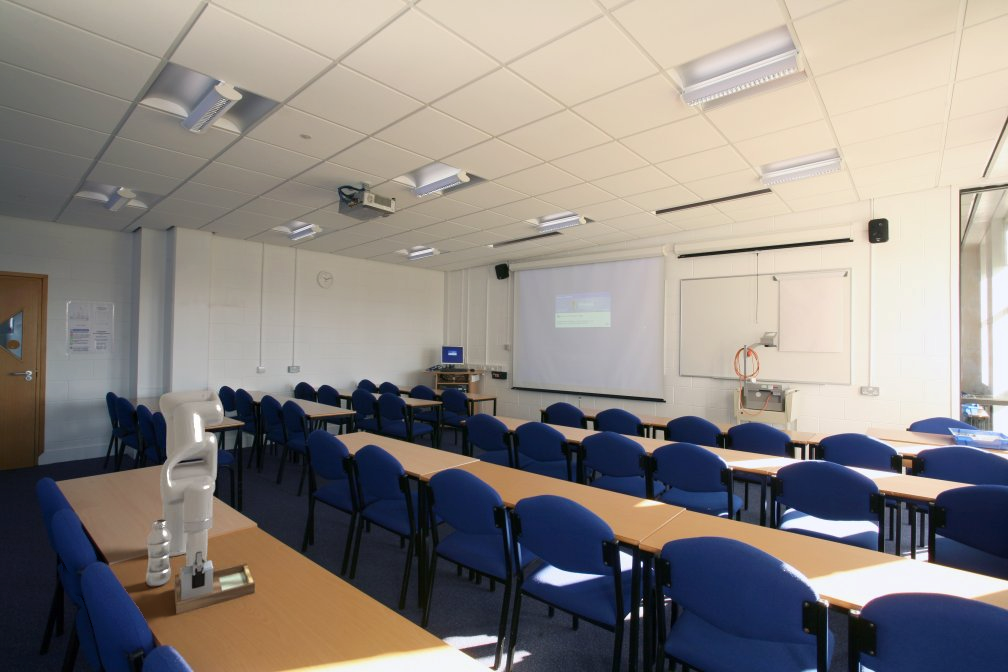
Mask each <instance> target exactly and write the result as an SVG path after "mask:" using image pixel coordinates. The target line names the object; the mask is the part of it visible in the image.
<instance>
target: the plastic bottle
mask: <svg viewBox="0 0 1008 672" xmlns="http://www.w3.org/2000/svg"><path fill="white" fill-rule="evenodd" d="M166 526H167V524H166V519H163V518H162V519H156V520H154V521H152V524H151V529H152V530H151V531H150V532H149V534H148V535H147V537H146V547H147V555H148V556H147V557H148V563H147V570H146V576H145V583H146V584H147V585H148V586H149V587H157V586H162V585H165V584H166V583H168V582H169V581H170V578H171V575H172V570H171V566H170V557H169V547H170V542H171V533H170V532H169V530H168V529H167V528H166Z"/></svg>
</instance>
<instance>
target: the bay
mask: <svg viewBox="0 0 1008 672" xmlns="http://www.w3.org/2000/svg"><path fill="white" fill-rule="evenodd" d="M180 579H181V578H180V574H179V573H178V574H175V575H174V586H173V587H174V588H173V589H174V590H173V591H174V600H175V603H174V604H175V611H176V612H175V614H176V616H177V615H180V614H184V613H187V612H188V613H189V612H192V611H194V610H198V609H202V608H205V607H209V606H212V605H217V604H219V603H223V602H227V601H230V600H234V599H237V598H241V597H244V596H249V595H252V594H255V593H256V592H255V588H256V583H255V582H254V580H253V577H252V574H251V572H250V570H249V567H248V562H244V563H243V562H242V563H240V564H235V565H232V566H227V567H223V568H218V569H215V570H214V569H213V593H209V594H205V595H201V596H198V597H194V598H190V599H186V600H182V601H181V591H180Z"/></svg>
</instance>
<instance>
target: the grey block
mask: <svg viewBox="0 0 1008 672" xmlns="http://www.w3.org/2000/svg"><path fill="white" fill-rule="evenodd" d="M196 568H197V567H195V569H196ZM213 571H214V566H213V561H212V560H210V559H209V560H206V563H205V564H204V572H205V585H204V586H202V587H198V588H194V589H192V575H193V566H191V567H190V568H188V567H187V565H183V566H181V567H180V578H179V579H180V591H181V601H182V600H186V599H190V598H194V597H198V596H201V595H205V594H209V593H213Z"/></svg>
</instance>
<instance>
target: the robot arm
mask: <svg viewBox="0 0 1008 672" xmlns="http://www.w3.org/2000/svg"><path fill="white" fill-rule="evenodd" d="M222 403H223V402H222V401H221V399H220V397H219V395H218V393H217V392H216V391H215V390H211V389H210V390H209V389H208V390H205V389H204V390H186V391H185V390H184V391H182V390H181V391H172V392H166V393H164V394H161V396H160V399H159V408H160V409H159V410H160V413H161V414H162V417H163V418H164V421H165V424H166V441H165V443H166V446H165V448H166V450H165V451H166V457H167V458H166V460H165V462H164V463H163V465H162V467H161V470H160V473H159V474H160V475H159V477H160V478H159V481H160V482H159V484H160V485H159V486H160V488H159V489H160V499H161V501H162V519H166V524H167V526H166V528H167V529H168V530H169V532H170V533H171V542H170V547H169V558H170V557H176V556H182V555H185V563H186V566H187V567H188V568H190V567H191V566H193V575H192V589H194V588H198V587H202V586H204V585H205V572H204V564H205V563H206V561H208V560H207V558H208V540H209V537H208V536H209V534H208V533H209V530H210V529H212V527H213V510H214V509H213V508H214V507H213V506H214V505H213V502H214V501H213V500H214V498H213V497H214V496H213V495H214V493H215V490H216V480H217V473H218V439H217V436H216V434H214V433H213V432H209V431H206V430H205V429H206V428H205V427H207V426H217V425H220V424H221V423H222V422H223V421H224V415H225V413H224V405H223V404H222ZM196 459H197V460H196ZM198 459H201V460H198ZM188 460H189V461H188ZM190 460H196V461H190ZM181 461H188V462H181ZM180 462H181V463H180ZM195 567H197V568H196V569H195Z"/></svg>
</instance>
